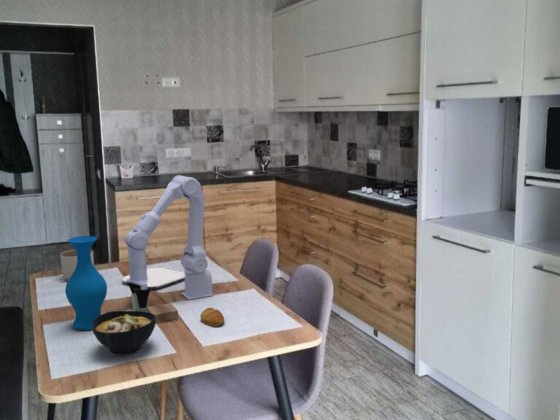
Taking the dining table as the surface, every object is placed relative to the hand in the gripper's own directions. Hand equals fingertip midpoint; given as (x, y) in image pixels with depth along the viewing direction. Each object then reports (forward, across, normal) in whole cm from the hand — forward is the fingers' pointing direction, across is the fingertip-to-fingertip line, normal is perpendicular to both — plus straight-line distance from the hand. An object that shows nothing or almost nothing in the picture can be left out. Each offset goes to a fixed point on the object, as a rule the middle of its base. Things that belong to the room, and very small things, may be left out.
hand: (140, 304), depth 186 cm
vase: (+2, +7, -18) cm, 19 cm away
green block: (+2, 0, 0) cm, 2 cm away
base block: (+2, +13, +4) cm, 14 cm away
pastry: (+2, +24, +17) cm, 30 cm away
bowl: (+2, +31, -12) cm, 33 cm away
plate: (+2, -28, +13) cm, 31 cm away
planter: (+2, -47, -13) cm, 49 cm away
